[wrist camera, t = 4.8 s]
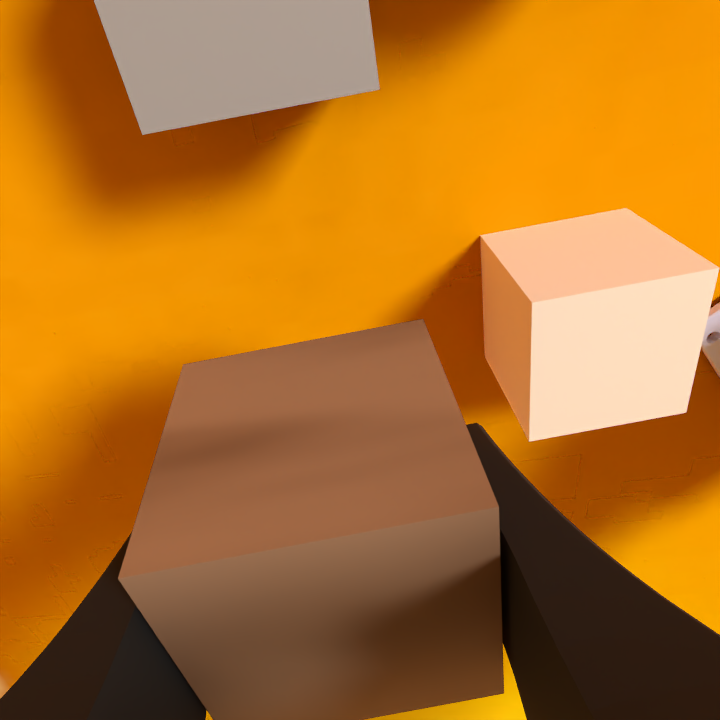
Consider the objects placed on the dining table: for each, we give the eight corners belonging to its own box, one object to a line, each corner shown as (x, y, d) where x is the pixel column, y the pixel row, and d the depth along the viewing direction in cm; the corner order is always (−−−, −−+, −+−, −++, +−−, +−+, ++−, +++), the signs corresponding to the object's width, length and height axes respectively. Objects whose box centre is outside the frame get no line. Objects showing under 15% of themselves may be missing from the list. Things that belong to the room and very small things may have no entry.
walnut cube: (441, 487, 14) (504, 693, 10) (249, 523, 14) (230, 744, 10) (423, 318, 11) (499, 506, 7) (183, 364, 11) (117, 578, 7)
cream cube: (610, 332, 21) (686, 412, 17) (484, 355, 21) (529, 441, 17) (625, 207, 19) (718, 268, 14) (479, 234, 19) (531, 302, 14)
